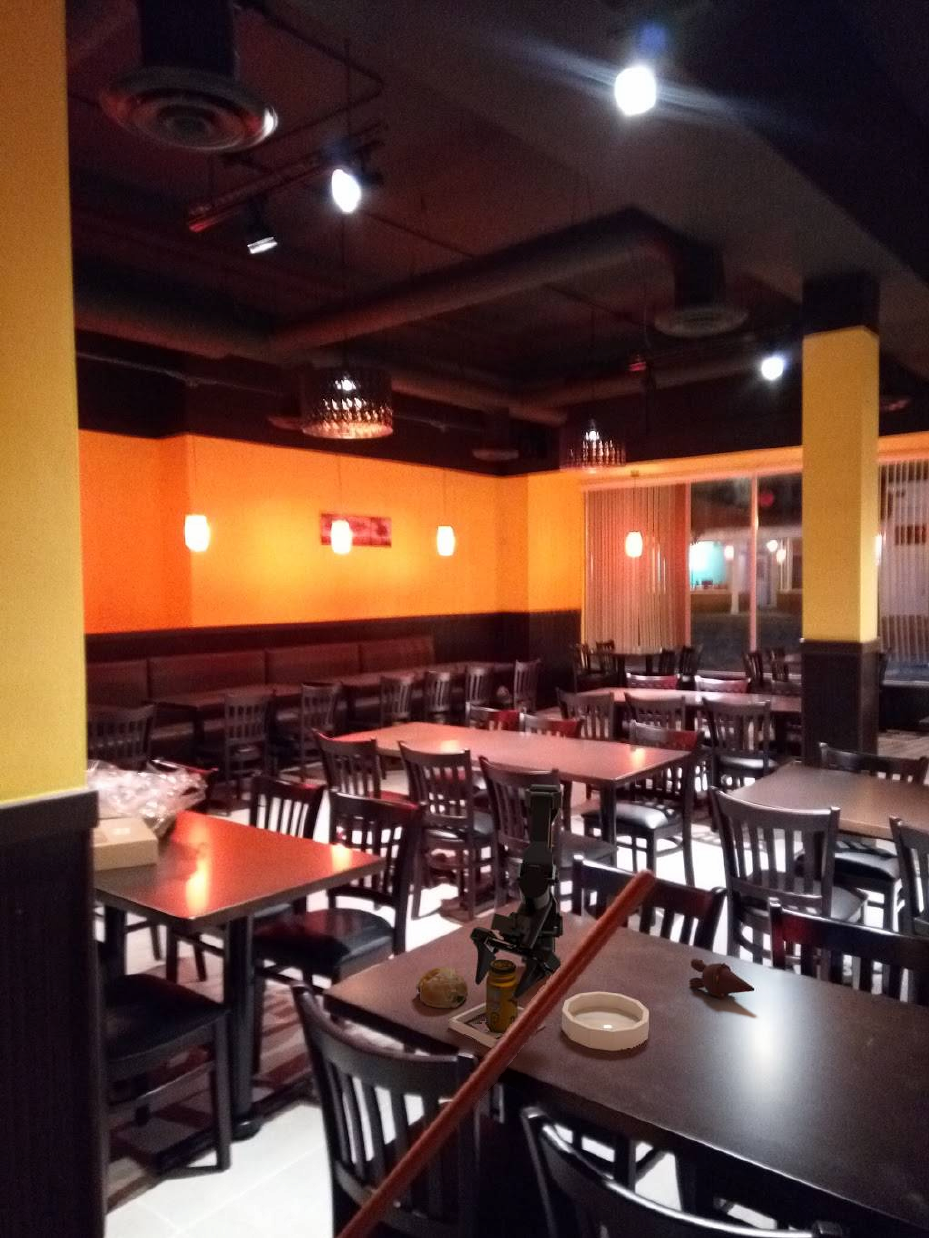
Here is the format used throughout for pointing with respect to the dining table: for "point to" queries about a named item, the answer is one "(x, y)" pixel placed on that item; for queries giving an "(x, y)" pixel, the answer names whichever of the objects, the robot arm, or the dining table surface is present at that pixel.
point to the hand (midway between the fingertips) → (495, 990)
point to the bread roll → (442, 988)
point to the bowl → (605, 1020)
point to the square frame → (458, 1025)
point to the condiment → (500, 997)
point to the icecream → (718, 979)
